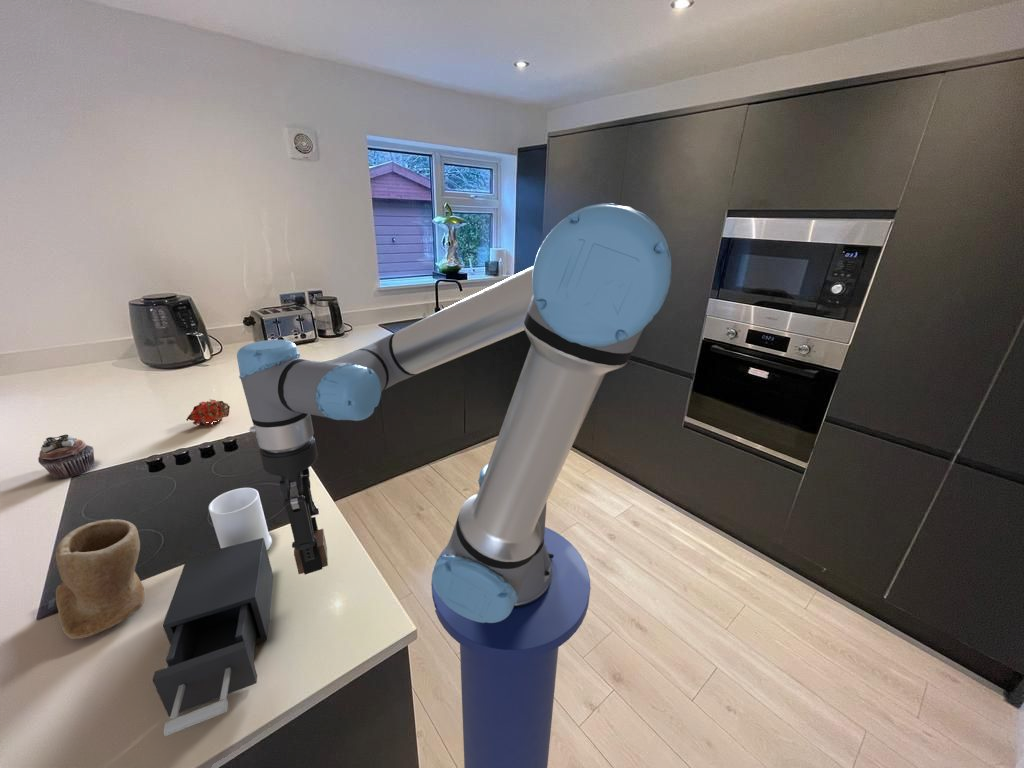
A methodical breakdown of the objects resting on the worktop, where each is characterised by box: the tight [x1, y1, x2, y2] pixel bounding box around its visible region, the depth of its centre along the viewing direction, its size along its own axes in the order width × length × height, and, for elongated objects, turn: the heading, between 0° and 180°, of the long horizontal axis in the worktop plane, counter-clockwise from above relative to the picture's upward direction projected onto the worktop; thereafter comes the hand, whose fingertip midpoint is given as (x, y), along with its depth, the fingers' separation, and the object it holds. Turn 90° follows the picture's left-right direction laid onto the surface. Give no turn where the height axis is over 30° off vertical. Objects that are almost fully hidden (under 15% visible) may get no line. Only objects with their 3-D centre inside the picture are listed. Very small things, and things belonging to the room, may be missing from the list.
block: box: [293, 528, 329, 575], centre depth 68 cm, size 4×4×4 cm
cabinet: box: [162, 538, 274, 646], centre depth 65 cm, size 14×11×9 cm
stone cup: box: [55, 518, 145, 640], centre depth 66 cm, size 15×12×15 cm
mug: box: [208, 487, 273, 551], centre depth 80 cm, size 12×8×12 cm
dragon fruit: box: [185, 398, 231, 426], centre depth 130 cm, size 8×8×12 cm
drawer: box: [151, 603, 258, 737], centre depth 56 cm, size 18×10×7 cm, turn 26°
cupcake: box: [37, 434, 96, 480], centre depth 103 cm, size 10×10×10 cm
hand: (313, 559), depth 69 cm, fingers closed on block, 4 cm apart
